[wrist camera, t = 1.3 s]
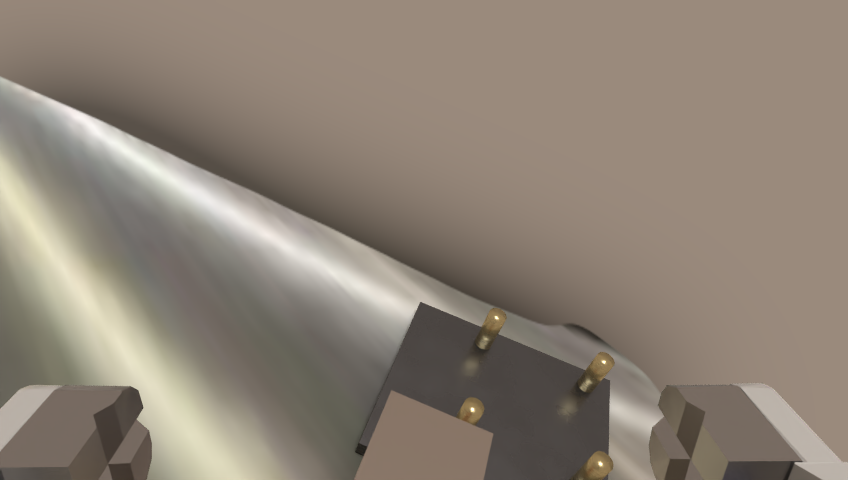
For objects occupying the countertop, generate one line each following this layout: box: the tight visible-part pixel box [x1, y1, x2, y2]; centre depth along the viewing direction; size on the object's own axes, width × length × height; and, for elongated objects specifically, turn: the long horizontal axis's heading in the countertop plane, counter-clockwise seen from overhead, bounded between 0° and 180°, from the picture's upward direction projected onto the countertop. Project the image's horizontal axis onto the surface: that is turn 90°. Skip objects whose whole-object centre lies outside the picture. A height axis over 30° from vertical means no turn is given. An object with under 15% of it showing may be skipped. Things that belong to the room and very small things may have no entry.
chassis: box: [356, 302, 614, 480], centre depth 40 cm, size 17×14×5 cm
